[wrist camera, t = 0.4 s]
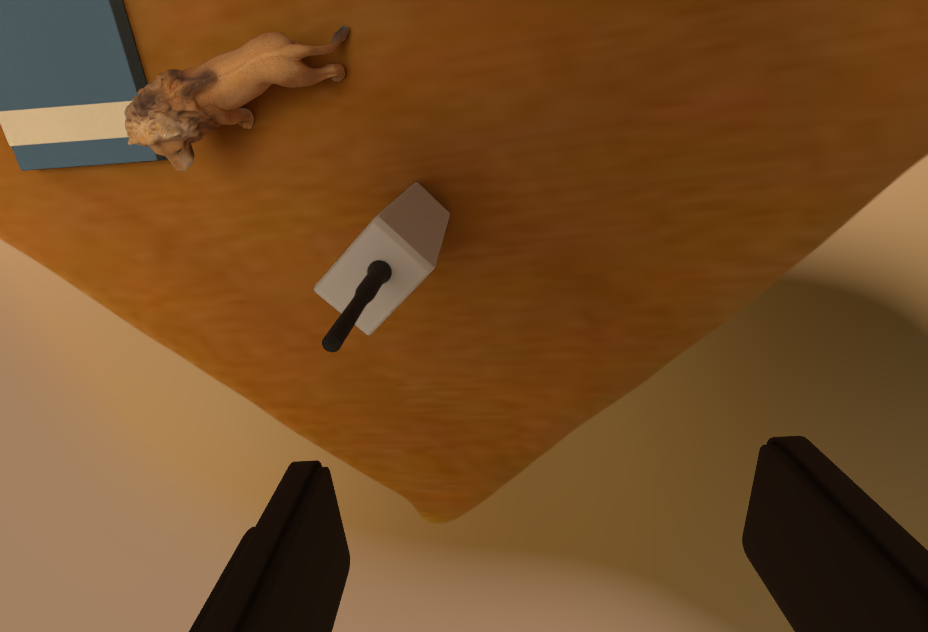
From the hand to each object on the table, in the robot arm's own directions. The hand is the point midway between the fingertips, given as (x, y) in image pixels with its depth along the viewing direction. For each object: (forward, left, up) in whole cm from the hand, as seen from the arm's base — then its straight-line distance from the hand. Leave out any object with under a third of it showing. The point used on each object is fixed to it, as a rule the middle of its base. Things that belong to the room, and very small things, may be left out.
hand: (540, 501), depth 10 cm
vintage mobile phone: (-1, -6, -30) cm, 31 cm away
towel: (-17, -31, -30) cm, 46 cm away
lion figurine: (-11, -16, -30) cm, 36 cm away
